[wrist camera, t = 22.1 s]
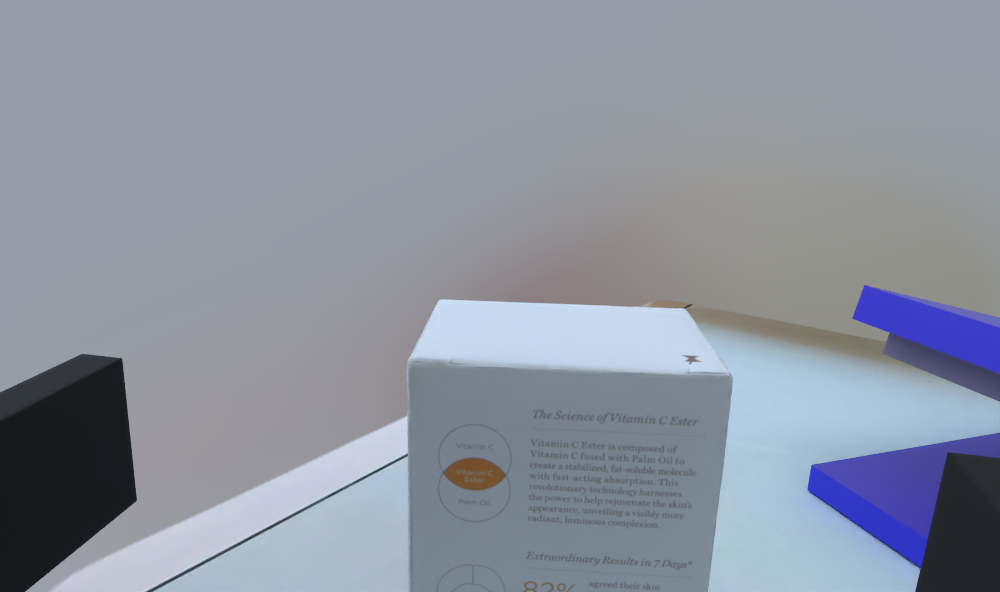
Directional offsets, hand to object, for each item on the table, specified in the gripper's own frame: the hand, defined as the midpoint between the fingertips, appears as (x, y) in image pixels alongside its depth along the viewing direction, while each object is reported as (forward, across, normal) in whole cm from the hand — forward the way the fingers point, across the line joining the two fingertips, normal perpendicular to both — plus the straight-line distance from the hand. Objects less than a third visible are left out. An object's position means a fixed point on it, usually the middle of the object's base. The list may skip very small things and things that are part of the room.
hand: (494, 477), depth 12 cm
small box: (+9, 0, -11) cm, 14 cm away
